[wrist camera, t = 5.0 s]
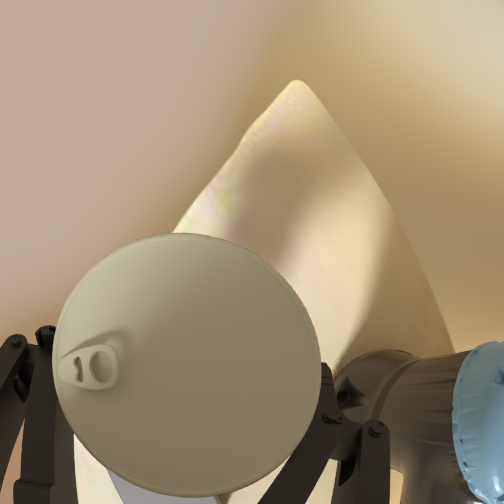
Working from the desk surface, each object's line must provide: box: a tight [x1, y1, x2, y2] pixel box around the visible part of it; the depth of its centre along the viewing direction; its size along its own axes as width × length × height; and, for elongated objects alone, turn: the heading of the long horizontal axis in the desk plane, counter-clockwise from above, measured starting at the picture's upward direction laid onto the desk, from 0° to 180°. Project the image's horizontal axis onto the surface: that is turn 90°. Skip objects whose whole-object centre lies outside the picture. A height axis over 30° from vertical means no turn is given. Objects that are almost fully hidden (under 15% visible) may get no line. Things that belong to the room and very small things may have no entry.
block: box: [106, 468, 222, 504], centre depth 22 cm, size 10×13×3 cm
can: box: [52, 233, 321, 498], centre depth 13 cm, size 9×9×12 cm
